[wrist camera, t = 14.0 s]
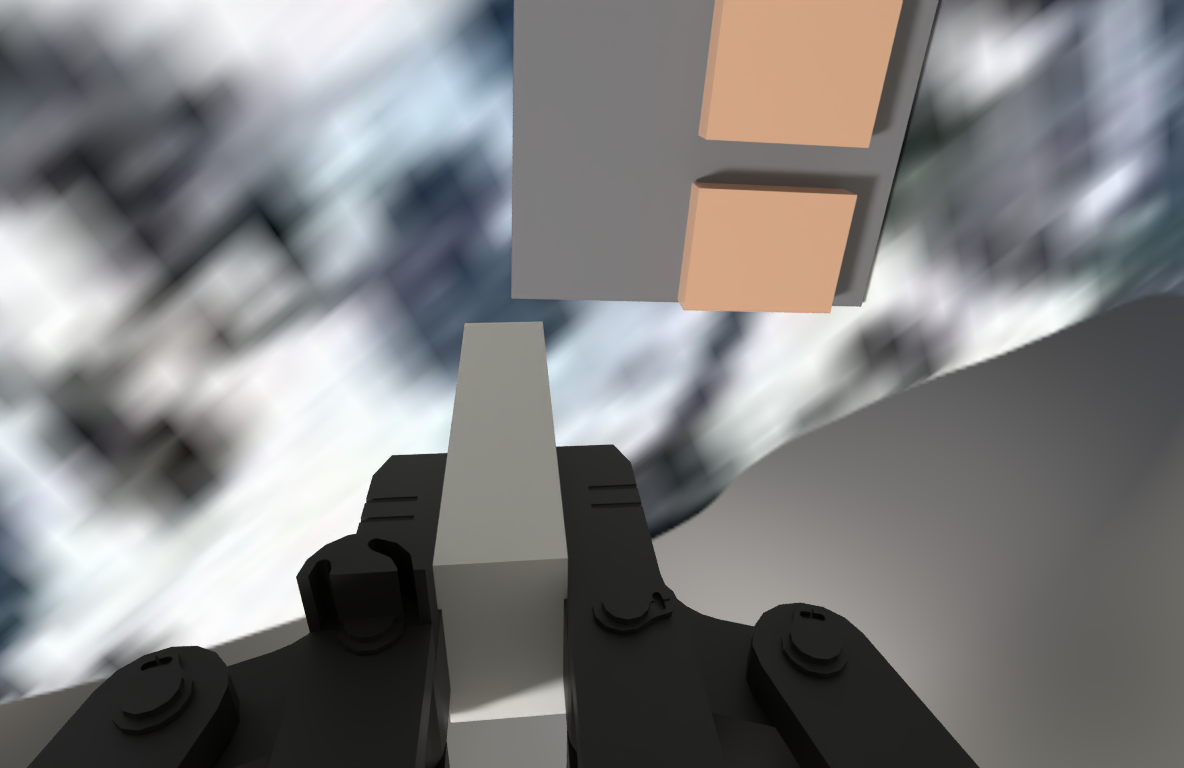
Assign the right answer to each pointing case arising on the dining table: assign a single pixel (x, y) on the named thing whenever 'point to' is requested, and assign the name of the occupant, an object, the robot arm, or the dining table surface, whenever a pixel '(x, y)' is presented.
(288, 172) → the dining table surface
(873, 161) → the mat
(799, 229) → the tan flat block
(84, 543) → the dining table surface
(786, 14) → the tan rectangular block
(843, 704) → the robot arm
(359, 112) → the dining table surface
